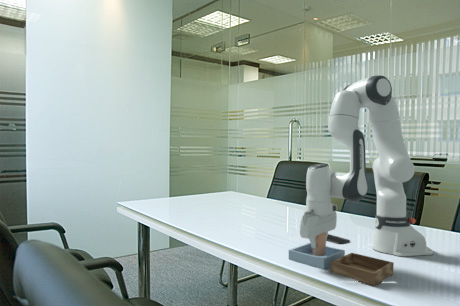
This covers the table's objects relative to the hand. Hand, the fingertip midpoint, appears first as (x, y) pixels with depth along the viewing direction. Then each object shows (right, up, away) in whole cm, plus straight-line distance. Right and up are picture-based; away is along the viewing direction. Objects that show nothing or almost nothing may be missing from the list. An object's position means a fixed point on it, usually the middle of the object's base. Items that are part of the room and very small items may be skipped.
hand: (318, 245), depth 129 cm
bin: (-1, -6, 0) cm, 6 cm away
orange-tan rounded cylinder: (0, -3, 0) cm, 3 cm away
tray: (+11, -6, -13) cm, 18 cm away
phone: (+13, -6, +30) cm, 34 cm away
